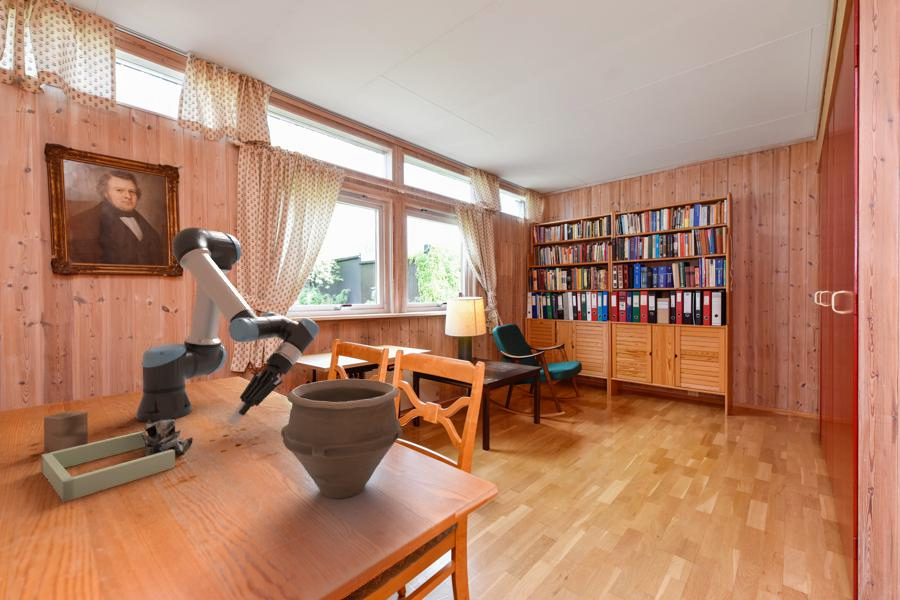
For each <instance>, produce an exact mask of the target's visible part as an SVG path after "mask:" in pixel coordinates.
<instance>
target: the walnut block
mask: <svg viewBox="0 0 900 600" xmlns="http://www.w3.org/2000/svg"><path fill="white" fill-rule="evenodd" d="M88 413H89V412H88V411H87V412H86V411H80V410H79V411H77V410H68V411H65V412H60V413H56V414H53V415H48V416H44V417H43V424H44V425H43V438H44V439H43V442H44V444H43V447H44V449H43V450H44V452H45V451H49V452H48V453H50V452H55V451H59V450H63V449H68V448H72V447H76V446H80V445H85V444H89V442H88V441H89V439H88V438H89V437H88V435H89V433H88V431H89V429H88V428H89V427H88V426H89V425H88V424H89V423H88Z"/></svg>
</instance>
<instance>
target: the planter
mask: <svg viewBox="0 0 900 600" xmlns="http://www.w3.org/2000/svg"><path fill="white" fill-rule="evenodd" d="M399 391H400V390H399V388H397V386H396V385H393V384H392V383H388V382H384V381H380V380H375V379H365V378H363V379H360V378H339V379H329V380H328V379H327V380H320V381H315V382H310V383H306V384H305V383H304V384H301V385H298V386H297V387H295V388H293V389H291V391H289V393H288V394H287V401H288V402H290V403H291V409H290V411H289V419H288V424H286V425H284V426H283V427H282V428H281V430H280V431H281V432H280V435H281V437H282V443H283V445H284V447H285V448H286V449H287V450H289V451H290V452H291V453H292V454H293V455H294V457H296V459H297V460H298V461H299V463H300V464H301V465H302V466H303V468H304V470H305V471H306V472H307V474H308V475H309V476H310V478H311V479H312V480H313V482H314V483H315V485H316V486H317V488H318V490H319V492H320V493H321V494H322V495H323V496H324V497H326V498H330V499H338V500H339V499H346V498H351V497H354V496H356V495H357V494H359V493H361V492H362V491H363V489H364V488H365V486H366V485H367V484H368V482H369V481H370V479H371V477H372V476H373V474H374V472H375V471H376V469H377V468H378V466H380V463H381V462H382V461H383V459H384V457H385V456H386V455H387V453H388V452H389V451H390V449H391V448H392V447H393V446H394V444H395V443H396V441H397V440H398V439H400V438H401V437H402V435H403V434H404V433H403V432H404V430H403V428H401V422H400V420H399V419H398V418H397V412H396V411H397V408H396V403H395V398H397V397H398V396H399V393H400V392H399Z"/></svg>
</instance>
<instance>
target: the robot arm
mask: <svg viewBox="0 0 900 600" xmlns="http://www.w3.org/2000/svg"><path fill="white" fill-rule="evenodd" d="M171 250H172V254H173V257H174V258H175V261H177V263H178V265H179V266H180V267H181V268H182V269H184V270H186V271H188V272H189V273H190V274H191V276H193V278H194V279H195V280H196V281H197V285H196V291H195V299H194V304H193V305H194V306H193V312H192V314H193V315H192V320H191V328H190V334H189V335H188V336H187V337H185V338H184V341H183V343H169V344H163V345H162V344H160V345H158V346H157V345H156V346H153V347H150V348H148V349H147V350H145V351H144V352H143V355H142V362H141V366H142V396H141V399H140V402H139V404H138V407H137V410H136V412H135V418H136V421H138V422H146V423H147V422H148V420H149V419H150V422H152V423H155V422H157V421H158V420H159V419H160V418H163V419H170V420H175V419H177V418H181V417H184V416H186V415H189V414H190V413H192V411H193V410H192V407H193V405H192V402H191V400H190V398H189V395H188V393H187V390H186V380H189V379H194V378H198V377H203V376H209V375H211V374H214V373H217V372H218V371H220V370H221V369H222V368H223V367H224V365H225V363H226V361H227V351H226V350H225V349H226V348H225V347H224V345H223V344H222V340H221V339H220V337H219V336H218V334H219V330H220V329H219V327H220V323H221V321H220V320H221V316H222V315H223V317H225V318H226V320H227V321H228V323H229V325H228V333H229V337H230V338H231V339H232V340H233V341H234V342H237V343H251V342H255V341H260V340H267V339H274V338H275V339H276V338H277V339H279V340H282V342H280V343H279V346H278V347H277V348H276V349H275V351H274V352H273V353H272V354H271V355H270V356H269V357H268V358H267V360H266V364H267V366H266V367H265V368H263V369H262V371H260V372H258V371H256V372H254V374H253V376H252V378H251V380H250V381H249V383H248V384H247V386H246V388H245V389H244V390H243V392H242V393H241V395H240V396H239V398H240V400H241V402H240V403H239V404H238V405H237V407H236V408H235V409H234V410H233V411H232V412H231V413H230V415H229V416H228V417H227V418H226V422H228V423H229V424H231V425H232V426H233V427H236V425H237V424H239V422H240V421H241V420H242V418H243V417H244V416H245V415H246V414H247V413H248V411H249V410H250V409H251V408H252V407H255V406H256V407H257V406H259V405H260V404H261V403H262V402H263V401H265V399H266V398H267V397H268V396H270V394H271V393H272V392H273V391H274V390H275V389H276V388H277V387H279V386H280V385H281V384H282V383H283V381H282V380H281V377H282V375H283V376H285V375H287V374H288V373H289V371H290V370H291V369H292V368H293V365H295V364H296V363H297V361H298V360H299V359H300V358H301V357H302V355H303V354H304V353H305V351H306V350H307V349H308V348H309V346H310V345H311V344H312V343H313V341H315V339H316V338H317V336H318V335H319V333H320V332H321V331H320V326H319V325H318V324H317V322H315V321H314V320H313V319H311V318H308V317H303V318H301V320H299V322H298V321H296V320H294V319H290V318H289V317H286V316H284V315H282V314H280V313H279V312H274V311H267V312H266V313H263V314H262V315H261V316H258V315H257V314H256V313H255V311H253V309H252V308H251V307H250V305H249V304H248V303H247V301H246V300H245V299H244V298H243V296H242V295H241V294H240V293H239V292H238V290H237V289H236V288H235V287H234V285H233V284H232V283H231V282H230V281H229V279H228V278H227V275H228V274H229V273H230V272H232V269H233V265H235V264H237V263H238V262H239V261H240V259H241V256H242V247H241V244H240V242H239V240H238V239H237V238H236V237H235V236H234V235H232V234H229V233H226V232H223V231H215V230H210V229H205V228H201V227H187V228H184V229H182V230H180V231H179V232H178V233H176V234H175V236H174V237H173V239H172V242H171ZM221 314H222V315H221Z"/></svg>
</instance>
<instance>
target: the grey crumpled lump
mask: <svg viewBox="0 0 900 600" xmlns="http://www.w3.org/2000/svg"><path fill="white" fill-rule="evenodd" d="M176 421H177V419H163V418H160V419H159V420H158V421H154V422H150V419H149V420H148V422H146V423H145V426H144V427H143V429H141V430H140V431H141V435H140V436H141V437H142V436H143V439H144V441H145V447H144V451H145V457H146V456H150V455H153V454H157V453H161V452H164V451H168V450H171V448H174V450H175V452H178V454H179V455H181V454H183V455H184V454H185V453H186V452H187V451H188V449H189V448H190V447H191V446H192V444H193V441H194V438H193V437H190V438H189V437H188V438H186V439H185V440H184V441H183V439H184V437H181V429H179V430H177V431H176ZM139 427H141V425H139ZM144 430H145V431H144ZM142 431H143V433H142ZM144 432H146V433H147V434H145V435H144ZM182 435H184V434H183V433H182ZM180 437H181V438H180Z"/></svg>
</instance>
